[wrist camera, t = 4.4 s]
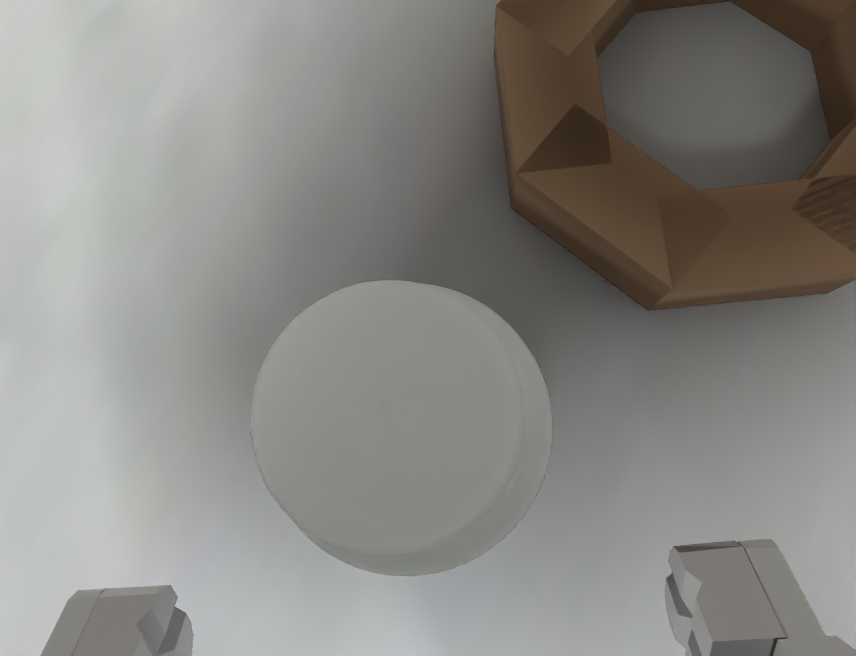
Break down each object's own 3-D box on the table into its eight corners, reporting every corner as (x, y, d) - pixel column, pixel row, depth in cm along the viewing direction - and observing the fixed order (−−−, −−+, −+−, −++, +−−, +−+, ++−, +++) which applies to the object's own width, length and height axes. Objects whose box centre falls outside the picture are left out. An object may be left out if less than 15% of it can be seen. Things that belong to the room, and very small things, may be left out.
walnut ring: (524, 322, 19) (531, 303, 17) (482, -40, 22) (482, -103, 19) (955, 281, 19) (1027, 254, 16) (864, -88, 21) (915, -160, 19)
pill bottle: (299, 422, 19) (128, 387, 10) (443, 305, 20) (411, 163, 10) (416, 576, 18) (351, 703, 9) (566, 450, 19) (658, 441, 9)
